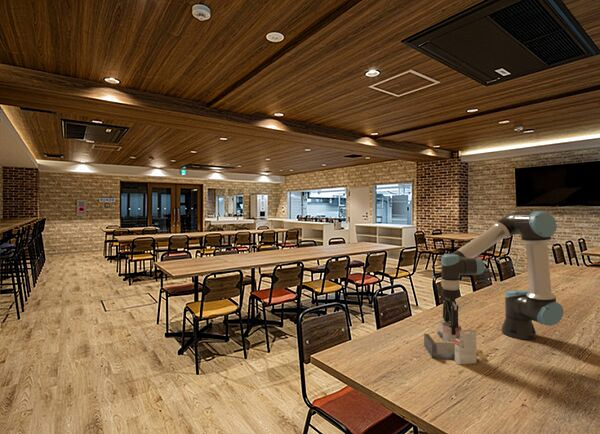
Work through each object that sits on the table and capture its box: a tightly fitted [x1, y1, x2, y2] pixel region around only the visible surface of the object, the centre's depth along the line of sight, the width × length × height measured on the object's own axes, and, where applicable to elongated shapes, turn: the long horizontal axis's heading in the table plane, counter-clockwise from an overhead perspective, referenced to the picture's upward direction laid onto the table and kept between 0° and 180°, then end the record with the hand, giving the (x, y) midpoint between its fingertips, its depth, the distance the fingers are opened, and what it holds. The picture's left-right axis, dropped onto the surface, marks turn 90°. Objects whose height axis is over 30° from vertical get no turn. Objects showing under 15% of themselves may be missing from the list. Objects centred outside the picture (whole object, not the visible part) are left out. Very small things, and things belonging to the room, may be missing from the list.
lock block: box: [436, 321, 462, 343], centre depth 153 cm, size 9×6×7 cm
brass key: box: [476, 349, 488, 362], centre depth 149 cm, size 8×4×1 cm, turn 174°
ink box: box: [454, 329, 477, 365], centre depth 143 cm, size 4×8×15 cm, turn 96°
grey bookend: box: [423, 333, 455, 360], centre depth 153 cm, size 18×13×6 cm
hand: (450, 338), depth 153 cm, fingers closed on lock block, 6 cm apart
